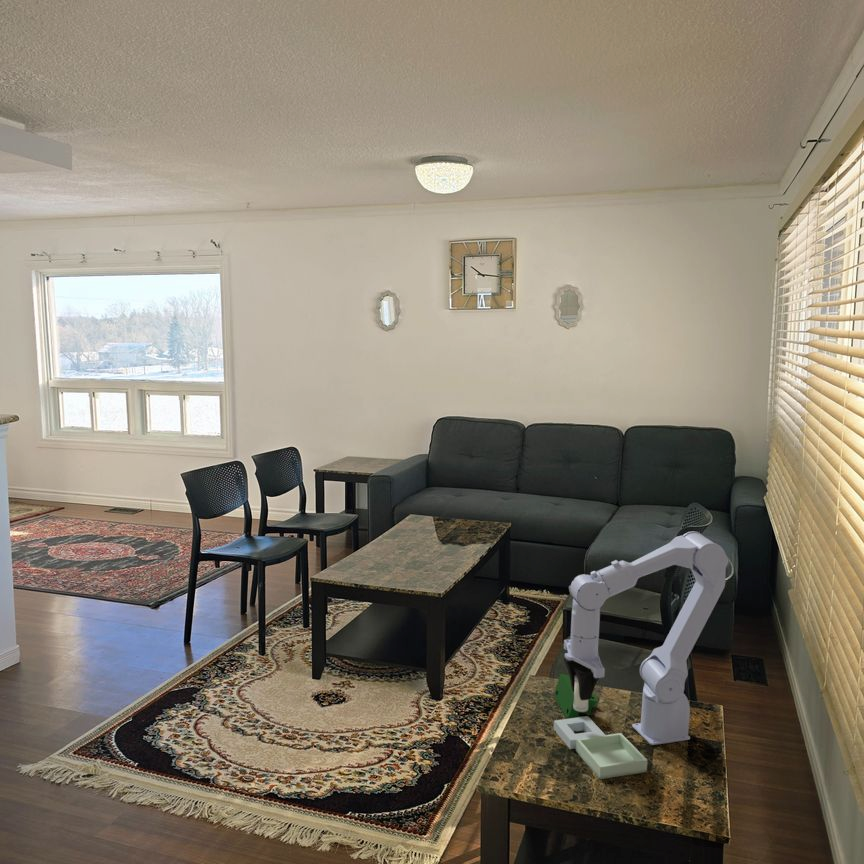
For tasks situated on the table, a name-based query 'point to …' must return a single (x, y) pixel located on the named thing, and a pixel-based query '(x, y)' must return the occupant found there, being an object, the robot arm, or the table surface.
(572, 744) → the grey square frame
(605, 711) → the table surface
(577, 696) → the cylinder
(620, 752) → the parts tray
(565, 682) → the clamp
